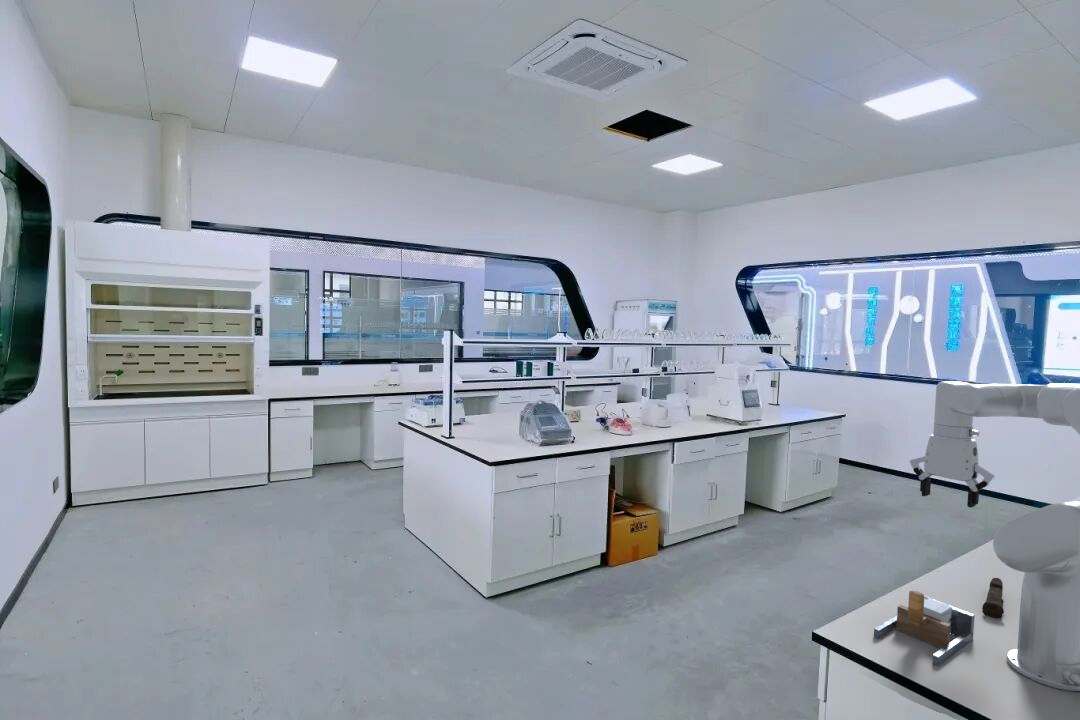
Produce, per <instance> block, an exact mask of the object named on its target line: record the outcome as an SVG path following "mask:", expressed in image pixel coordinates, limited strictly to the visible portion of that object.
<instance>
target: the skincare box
mask: <svg viewBox="0 0 1080 720" xmlns="http://www.w3.org/2000/svg"><path fill="white" fill-rule="evenodd" d="M925 596H926V595H924V612H923V614H926V615H928V616H931V617H933V618H936V619H938V620H941V621H943V622H946V623H948V624H951V612H952V607H951V606H952V605H950V604H948V603H945V602H942V601H940V602H938V601H939V600H937V601H935V600H936V599H934V598H931V597H929V598H927V597H928V596H926V597H925ZM930 598H931V599H930ZM933 599H934V600H933ZM941 602H942V603H941ZM944 603H945V604H944ZM947 604H948V605H947ZM949 605H950V606H949ZM950 631H951V627H950Z"/></svg>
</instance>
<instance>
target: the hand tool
mask: <svg viewBox="0 0 1080 720" xmlns="http://www.w3.org/2000/svg"><path fill="white" fill-rule="evenodd" d="M1003 584H1004V583H1003V581H1002V579H1001V578H999V577H992V579H991V580H990V582H989V589H988V591H987V595H986V596H987V597H986V600H985V602H984V603H983V604H982V608H981V609H982V611H981V612H982V613H983V615H984V616H985V617H988V618H992V619H996V620H1001V619H1002V618H1003V614H1004V613H1005V611H1004V607H1003V604H1004V602H1005V601H1004V599H1003V589H1004V585H1003Z"/></svg>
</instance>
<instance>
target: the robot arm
mask: <svg viewBox="0 0 1080 720" xmlns="http://www.w3.org/2000/svg"><path fill="white" fill-rule="evenodd" d="M934 404H935V405H934V417H933V418H934V419H933V430H932V434H930V435H929V437H928V441H927V445H926V448H925V455H924V456H921V457H918V458H914V459H910V460H909V464H910V465H911V468H912V470H913V473H915V474H916V476H917V477H918V479H919V480H920V485H919V491H920V492H921V496H922V497H927V496H930V495H931V489H932V487H931V485H932V483H931V482H932V480H931V477H932V476H936V477H940V478H945V479H950V480H954V481H958V482H960V481H961V482H965V483H966V485H967V486H968V488H969V489H970V490H968V491H967V505H966V506H967V507H968V508H973V507H976V506H977V505H978V504H979V502H980V501H979V500H980V499H979V498H980V491H981V490H983V489H984V488H986V487H988V486H989V484H991V483H992V481H993V480H994V479H995V477H996V476H995V475H994V474H993V473H991V472H990V471H988V470H987V469H986V468H983V467H981V465H980V464H979V451H978V444H977V441H976V439H972V438H973V437H979V436H980V430H976V429H974V425H973V424H974V423H973V421H974V418H990V417H992V418H993V417H996V418H997V417H998V418H999V417H1004V418H1005V417H1006V418H1007V417H1009V418H1010V417H1011V418H1012V417H1015V418H1031V419H1033V418H1034V419H1041V420H1042V421H1044V422H1045V423H1046V424H1048V425H1052V426H1053V425H1054V426H1065V427H1071V428H1072V429H1073V430H1074V431H1075V432H1076V433H1077V434H1078V435H1080V383H1058V382H1057V383H1056V382H1055V383H1054V382H1052V383H1047V384H1015V383H980V384H979V383H976V384H975V383H974V384H973V383H969V382H966V381H957V380H956V381H955V380H943V381H939V382H938V383H937V385H936V387H935V403H934ZM921 463H924V464H923V469H924V470H923V469H922V468H921V466H920V464H921ZM979 475H980V476H982V477H983V479H982V481H981V482H978V480H977V479H978V478H979ZM992 547H993V551H994V554H995V555H996V557H997V558H998V559H999V560H1000V562H1002V563H1003V564H1005V566H1007V567H1008V568H1010V569H1013V570H1014V571H1017V572H1021V573H1024V574H1023V579H1022V583H1021V594H1020V608H1019V617H1018V618H1019V620H1018V632H1017V633H1018V634H1017V635H1018V636H1017V647H1016V648H1013V649H1011V650H1009V651H1008V652H1007V654H1006V660H1007V663H1008V664H1009V665H1010V666H1011V667H1012V669H1014V670H1015V671H1017V672H1018V673H1019V674H1022V675H1023V676H1024V677H1026V678H1028V679H1030V680H1033V681H1035V682H1037V683H1039V684H1042V685H1045V686H1048V687H1050V688H1051V687H1052V688H1055V689H1059V690H1064V691H1071V692H1080V500H1075V501H1071V500H1070V501H1061V502H1055V503H1053V504H1049V505H1046V506H1043V507H1041V508H1038V509H1036V510H1033V511H1031V512H1029V513H1027V514H1025V515H1022V516H1020V517H1018V518H1015V519H1013V520H1010V521H1009V522H1007V523H1004V524H1003V525H1002V526H1000V527H999V528H998V529H997V530H996V532H995V533H994V535H993V539H992Z"/></svg>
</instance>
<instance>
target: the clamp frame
mask: <svg viewBox="0 0 1080 720" xmlns="http://www.w3.org/2000/svg"><path fill="white" fill-rule="evenodd" d="M924 596H925V597H927V598H930V599H933V600H935V601H938V602H941V603H944V604H947V605H949V606H951V607H952V612H951V631H950V633H951V634H950V635H952V634H954V635H955V638H954V639H953V640H951V641H950V642H949V644H947V645H946V646H944V647H943V648H939V649H938V650H937V651H936V652H934V653H933V654H932V662H931V663H932V665H934V666H937V667H938V666H940V665H941V664H943V663H944V662H945V661H947V660H948V659H950V658H951V657H952V656H954V655H955V654H956V653H958V652H959V651H961V650H962V649H963V648H964V647H966V646H967V645H968V644H969V643H971V642H973V640H974V630H975V617H976V616H975V614H974V613H972V612H969V611H966V610H963V609H961V608H959V607H956V606H953V605H950V604H948V603H945V602H942V601H939V600H937V599H934V598H932V597H929V596H926V595H924ZM896 626H897V615H895V616H893V617H892V618H890V619H888V620H887V621H885V622H883V623H881V624H880V625H878V626H876V627H875V628H873V638H874V639H876V640H879V639H881V638H882V637H884V636H886V635H888V634H889V633H891V632H892V631H895V630H897V629H896ZM954 635H953V636H954Z"/></svg>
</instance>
